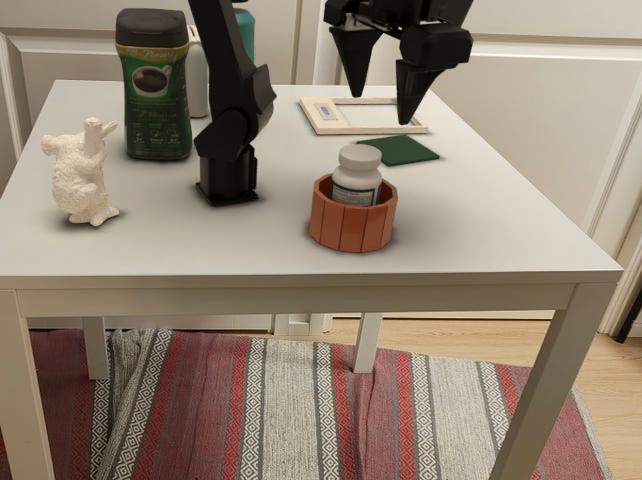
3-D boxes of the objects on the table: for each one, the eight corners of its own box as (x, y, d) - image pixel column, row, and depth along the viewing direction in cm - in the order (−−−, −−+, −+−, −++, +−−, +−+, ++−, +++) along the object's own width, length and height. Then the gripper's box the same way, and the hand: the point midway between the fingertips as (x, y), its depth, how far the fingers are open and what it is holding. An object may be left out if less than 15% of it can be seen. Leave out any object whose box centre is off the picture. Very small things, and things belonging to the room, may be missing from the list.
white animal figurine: (129, 206, 81) (120, 108, 74) (123, 233, 76) (113, 130, 68) (60, 205, 81) (44, 106, 73) (49, 231, 76) (30, 128, 68)
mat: (388, 166, 94) (389, 163, 94) (356, 143, 100) (356, 141, 100) (439, 158, 97) (440, 155, 97) (405, 136, 104) (405, 134, 103)
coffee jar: (194, 142, 98) (192, 4, 86) (189, 164, 92) (186, 18, 80) (130, 139, 98) (118, 0, 86) (120, 160, 92) (107, 14, 80)
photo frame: (299, 96, 113) (399, 95, 115) (299, 102, 113) (398, 102, 116) (318, 127, 102) (428, 125, 104) (317, 134, 102) (426, 132, 105)
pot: (334, 258, 74) (340, 214, 70) (295, 220, 80) (299, 178, 77) (404, 243, 77) (414, 200, 73) (362, 208, 84) (368, 167, 80)
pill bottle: (342, 216, 82) (353, 137, 75) (381, 231, 79) (396, 151, 73) (316, 232, 78) (325, 151, 72) (356, 249, 76) (369, 166, 69)
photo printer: (175, 97, 113) (172, 19, 105) (200, 97, 114) (199, 18, 106) (184, 119, 105) (181, 35, 97) (210, 118, 106) (210, 35, 98)
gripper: (538, -38, 60) (490, 131, 70) (414, -68, 73) (389, 79, 83) (442, -35, 56) (406, 144, 66) (329, -67, 69) (313, 87, 79)
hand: (379, 110), depth 73 cm, fingers open, 9 cm apart
